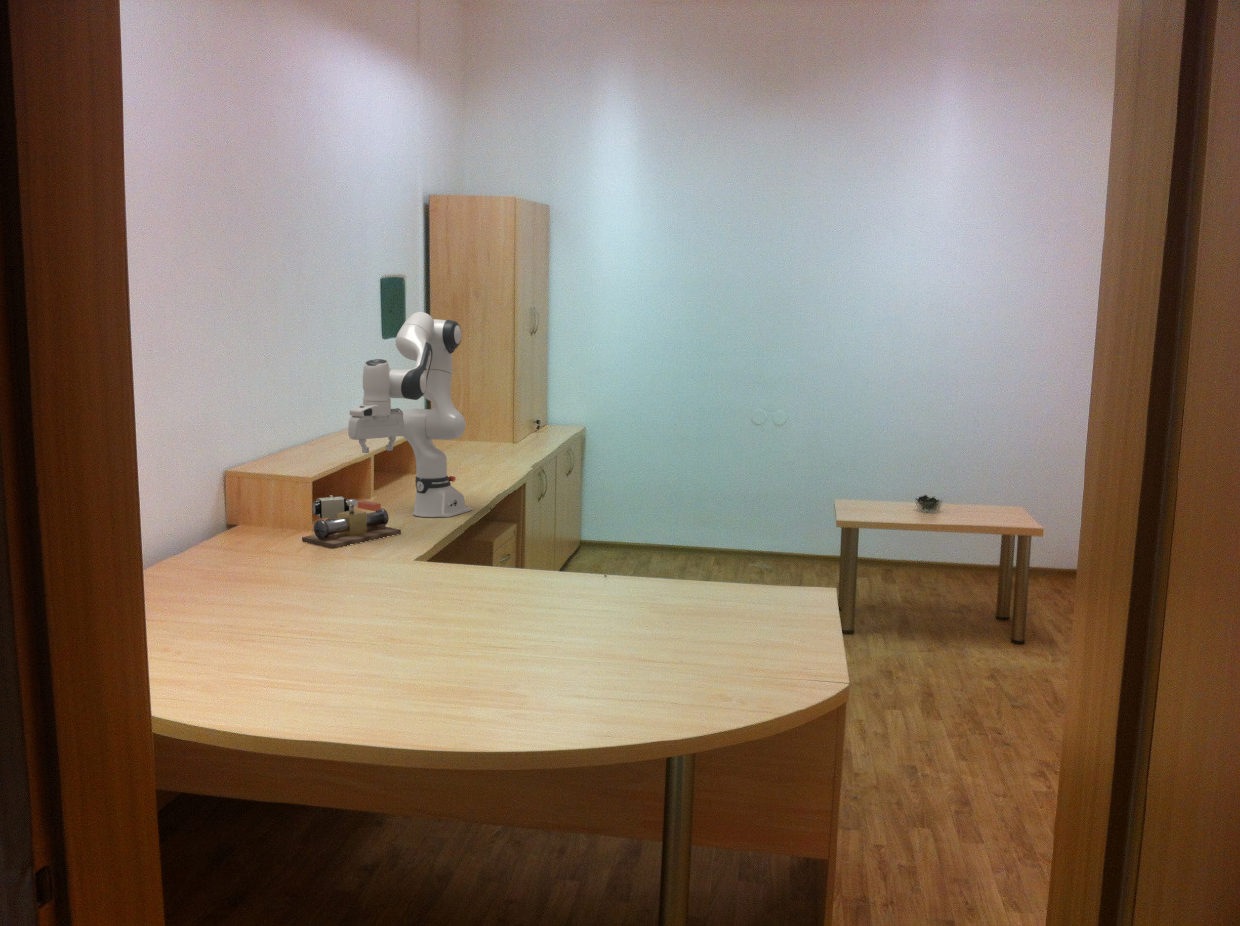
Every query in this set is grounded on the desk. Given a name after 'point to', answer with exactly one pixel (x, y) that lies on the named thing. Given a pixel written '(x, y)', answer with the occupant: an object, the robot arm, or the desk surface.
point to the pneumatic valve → (330, 507)
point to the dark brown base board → (352, 537)
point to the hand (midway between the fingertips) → (377, 451)
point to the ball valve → (350, 523)
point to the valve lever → (364, 504)
